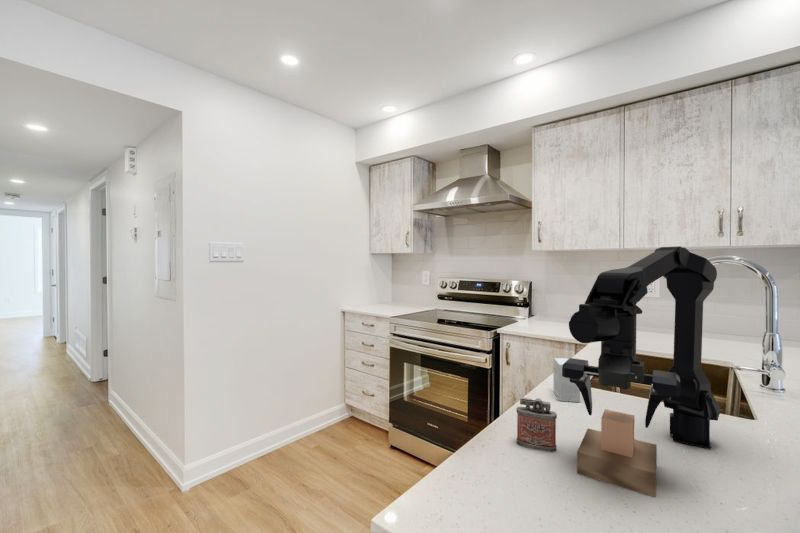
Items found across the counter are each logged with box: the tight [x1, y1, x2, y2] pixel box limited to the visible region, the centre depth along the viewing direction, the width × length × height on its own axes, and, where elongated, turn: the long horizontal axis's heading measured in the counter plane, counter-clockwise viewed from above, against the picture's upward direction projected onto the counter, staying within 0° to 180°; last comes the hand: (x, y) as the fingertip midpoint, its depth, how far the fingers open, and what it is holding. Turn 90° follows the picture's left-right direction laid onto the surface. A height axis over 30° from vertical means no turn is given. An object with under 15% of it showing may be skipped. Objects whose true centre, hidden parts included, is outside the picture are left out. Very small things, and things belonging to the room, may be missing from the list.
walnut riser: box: [576, 428, 658, 498], centre depth 70 cm, size 12×12×4 cm
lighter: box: [515, 396, 558, 453], centre depth 79 cm, size 8×3×10 cm, turn 65°
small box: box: [552, 357, 581, 403], centre depth 107 cm, size 8×6×10 cm
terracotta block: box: [600, 409, 635, 458], centre depth 70 cm, size 5×5×6 cm
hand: (617, 420), depth 70 cm, fingers open, 9 cm apart
